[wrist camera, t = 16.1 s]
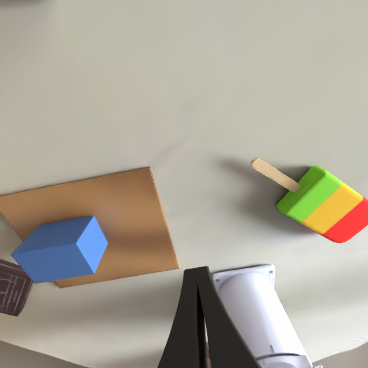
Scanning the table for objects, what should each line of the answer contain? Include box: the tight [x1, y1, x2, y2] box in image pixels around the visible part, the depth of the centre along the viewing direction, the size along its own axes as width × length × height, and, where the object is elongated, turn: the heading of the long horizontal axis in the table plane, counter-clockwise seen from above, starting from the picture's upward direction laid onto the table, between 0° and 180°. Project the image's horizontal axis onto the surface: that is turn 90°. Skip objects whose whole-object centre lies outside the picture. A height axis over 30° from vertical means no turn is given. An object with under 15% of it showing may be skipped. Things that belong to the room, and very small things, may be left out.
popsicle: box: [251, 158, 368, 243], centre depth 19 cm, size 6×15×2 cm, turn 59°
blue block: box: [11, 216, 108, 283], centre depth 19 cm, size 4×4×6 cm
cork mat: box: [0, 167, 179, 288], centre depth 21 cm, size 14×16×1 cm
